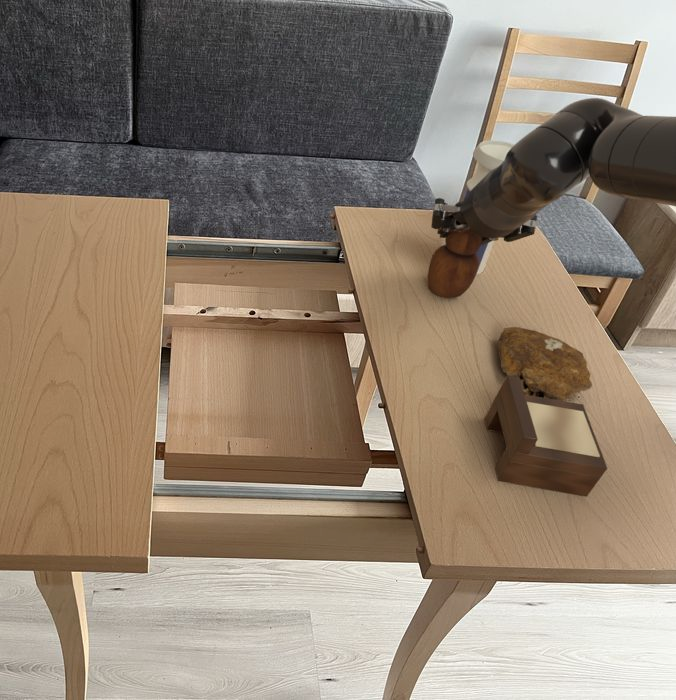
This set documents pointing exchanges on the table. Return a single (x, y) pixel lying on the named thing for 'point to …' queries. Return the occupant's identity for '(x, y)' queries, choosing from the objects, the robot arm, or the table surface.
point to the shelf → (544, 441)
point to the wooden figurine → (454, 264)
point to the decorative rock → (543, 364)
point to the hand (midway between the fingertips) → (462, 234)
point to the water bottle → (488, 159)
